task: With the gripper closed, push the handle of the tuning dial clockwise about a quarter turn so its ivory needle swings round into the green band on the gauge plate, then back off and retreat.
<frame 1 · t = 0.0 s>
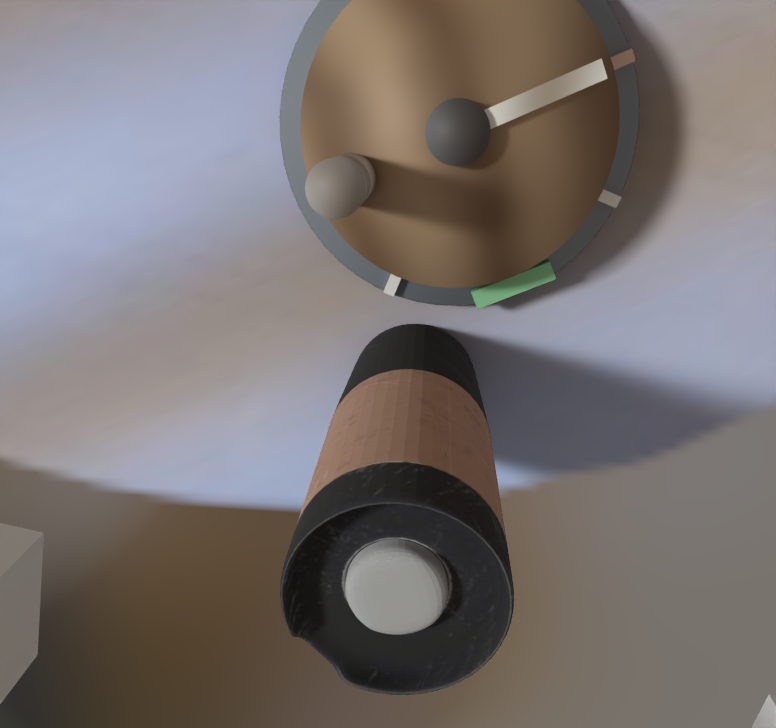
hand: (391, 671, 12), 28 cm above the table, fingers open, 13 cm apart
gauge plate: (455, 132, 36), on the table
travel mug: (414, 379, 40), on the table
dial: (458, 132, 30), point 6 cm above the table, hinge at 125.0°
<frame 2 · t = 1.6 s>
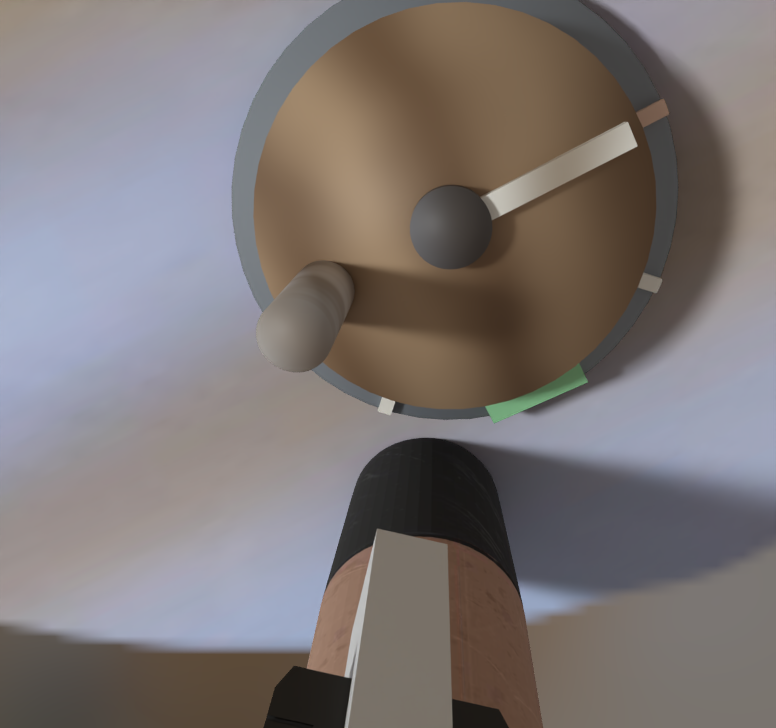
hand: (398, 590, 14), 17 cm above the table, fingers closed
gauge plate: (449, 213, 29), on the table
travel mug: (425, 499, 34), on the table
dial: (451, 234, 24), point 6 cm above the table, hinge at 125.0°
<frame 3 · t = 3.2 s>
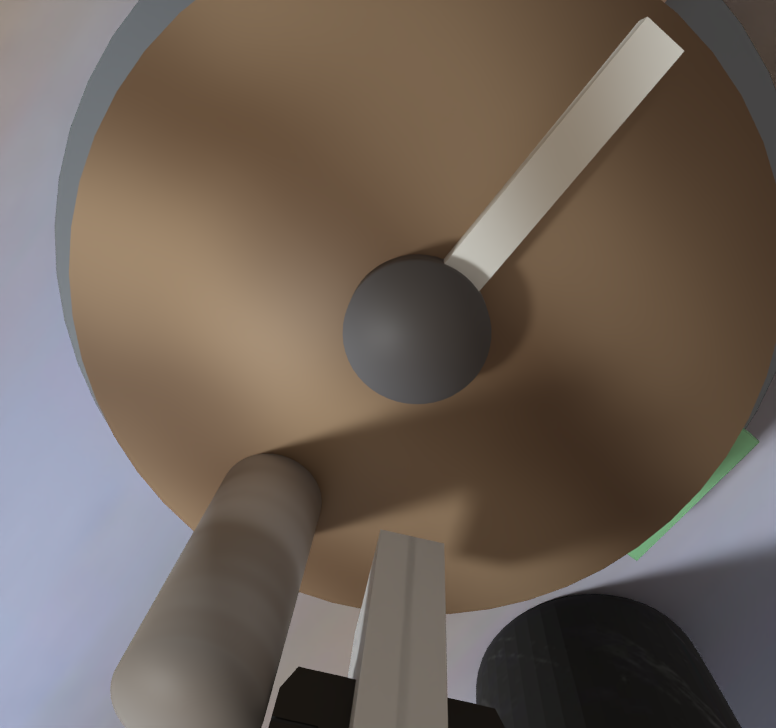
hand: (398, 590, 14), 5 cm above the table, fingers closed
gauge plate: (418, 287, 18), on the table
travel mug: (585, 680, 22), on the table
dial: (415, 354, 13), point 6 cm above the table, hinge at 122.7°, touching gripper
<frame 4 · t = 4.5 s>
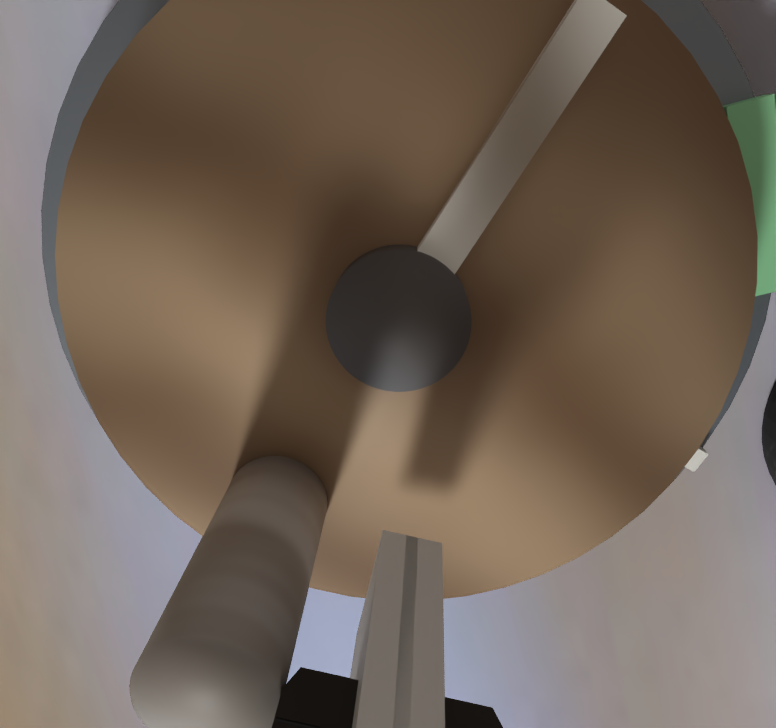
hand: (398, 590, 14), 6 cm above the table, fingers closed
gauge plate: (402, 279, 18), on the table
dial: (396, 341, 13), point 5 cm above the table, hinge at 77.7°, touching gripper
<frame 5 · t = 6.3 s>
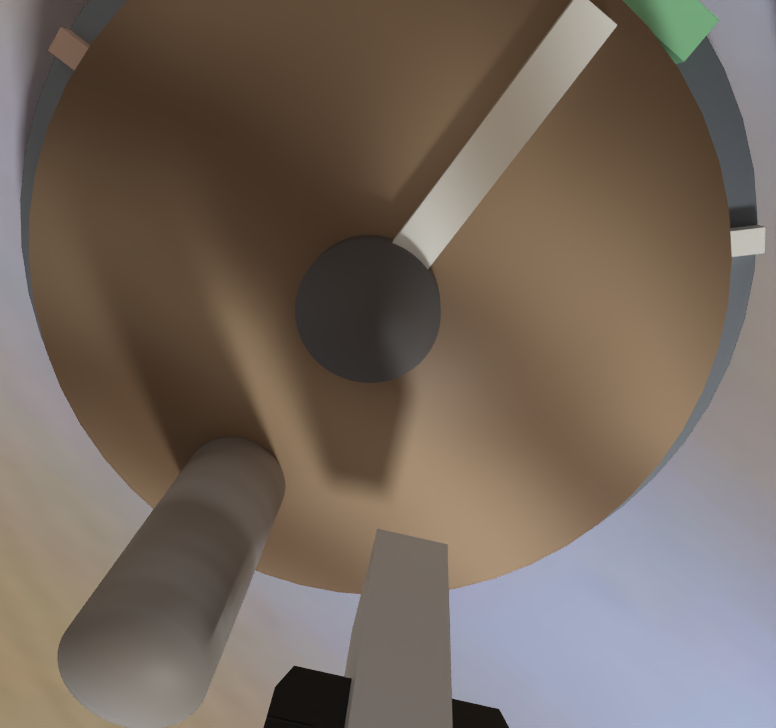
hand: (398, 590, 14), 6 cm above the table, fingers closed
gauge plate: (381, 272, 18), on the table
dial: (362, 330, 13), point 5 cm above the table, hinge at 35.9°
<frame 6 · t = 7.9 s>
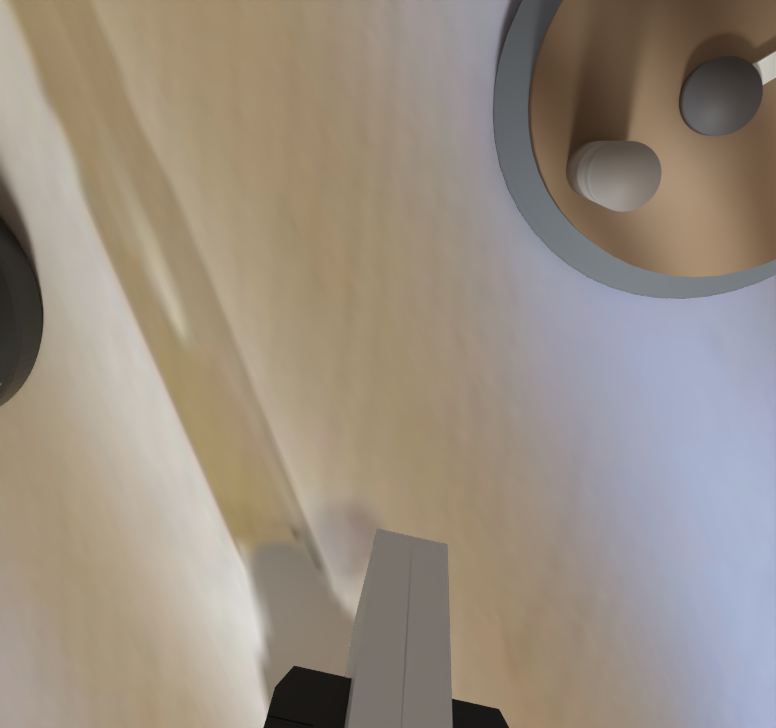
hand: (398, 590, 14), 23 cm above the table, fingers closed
gauge plate: (689, 102, 32), on the table
dial: (734, 94, 26), point 6 cm above the table, hinge at 35.9°
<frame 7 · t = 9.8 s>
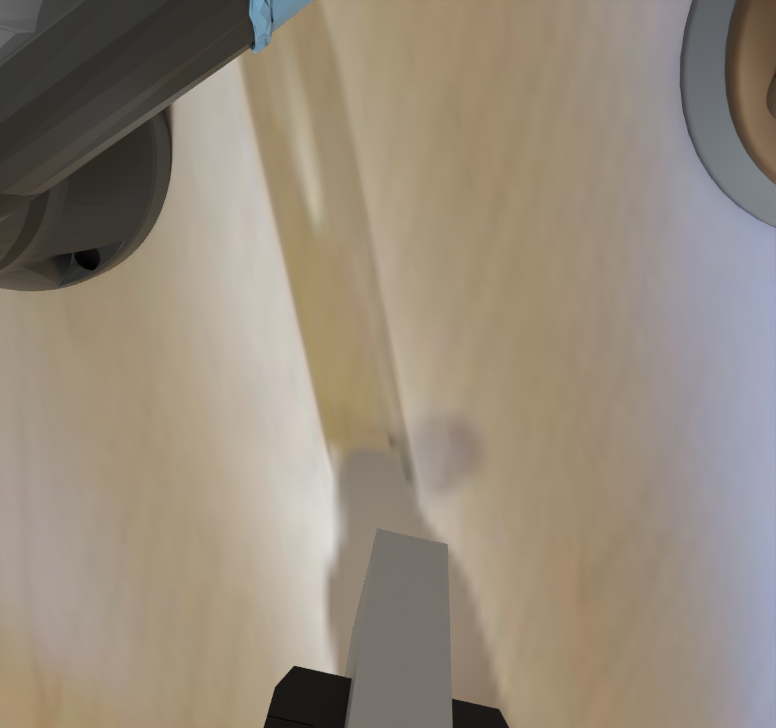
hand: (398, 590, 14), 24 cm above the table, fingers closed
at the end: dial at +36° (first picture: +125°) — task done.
